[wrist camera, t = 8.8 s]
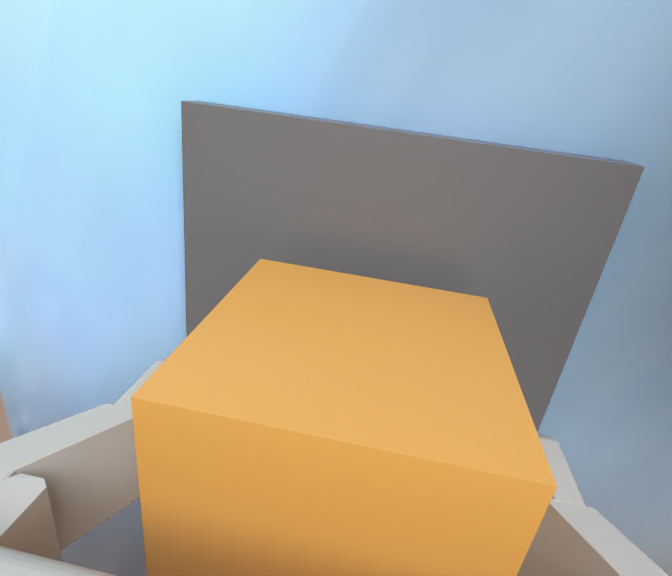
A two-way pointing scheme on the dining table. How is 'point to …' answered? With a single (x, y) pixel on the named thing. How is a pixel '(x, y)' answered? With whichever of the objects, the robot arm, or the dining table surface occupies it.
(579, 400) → the dining table surface
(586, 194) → the plate
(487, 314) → the orange cubic block
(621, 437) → the dining table surface
